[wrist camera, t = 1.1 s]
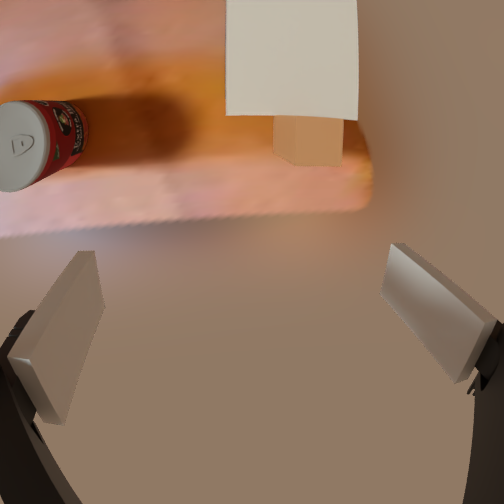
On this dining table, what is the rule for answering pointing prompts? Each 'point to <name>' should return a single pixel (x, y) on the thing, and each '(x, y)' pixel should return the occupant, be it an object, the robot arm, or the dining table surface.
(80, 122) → the canned food
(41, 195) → the dining table surface
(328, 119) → the lid
